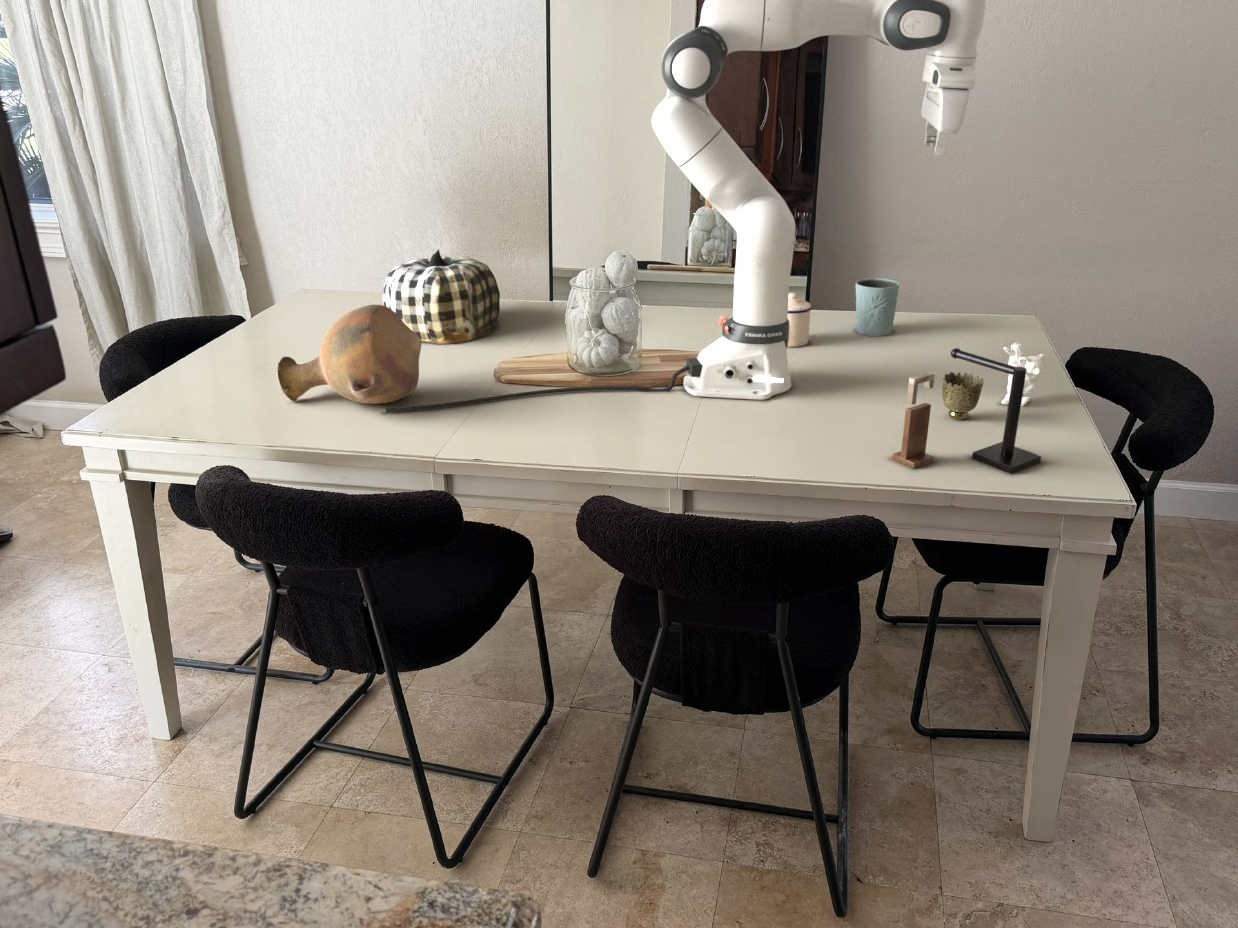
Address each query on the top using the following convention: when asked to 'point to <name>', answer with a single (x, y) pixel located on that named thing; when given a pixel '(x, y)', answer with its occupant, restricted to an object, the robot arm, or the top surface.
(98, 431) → the top surface
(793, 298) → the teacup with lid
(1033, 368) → the white figurine
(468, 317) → the decorative pumpkin
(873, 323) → the teal embossed pot
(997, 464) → the stand
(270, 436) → the top surface
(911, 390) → the hanger
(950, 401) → the cup
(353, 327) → the jug
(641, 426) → the top surface
